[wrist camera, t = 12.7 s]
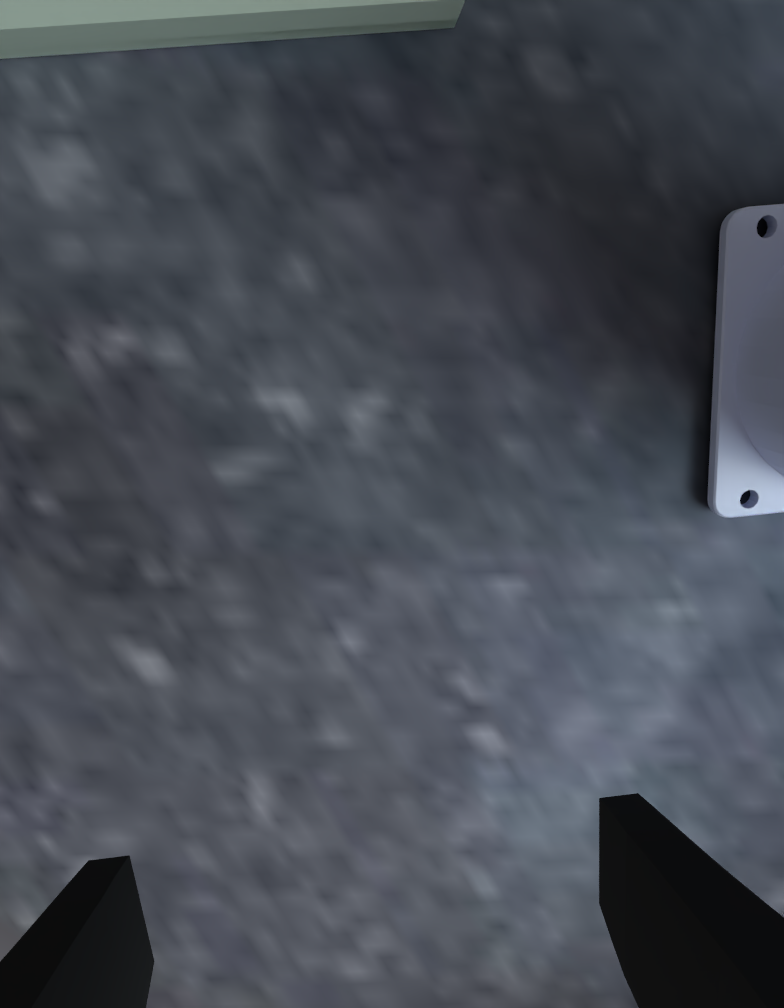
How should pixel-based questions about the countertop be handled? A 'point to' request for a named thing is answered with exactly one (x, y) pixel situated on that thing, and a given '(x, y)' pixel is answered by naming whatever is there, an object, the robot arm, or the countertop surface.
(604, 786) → the countertop surface
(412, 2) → the tray
